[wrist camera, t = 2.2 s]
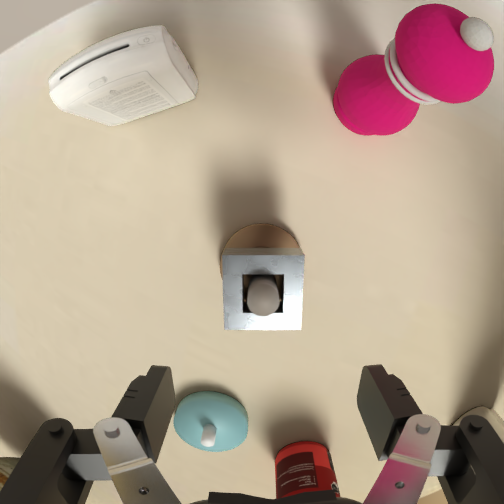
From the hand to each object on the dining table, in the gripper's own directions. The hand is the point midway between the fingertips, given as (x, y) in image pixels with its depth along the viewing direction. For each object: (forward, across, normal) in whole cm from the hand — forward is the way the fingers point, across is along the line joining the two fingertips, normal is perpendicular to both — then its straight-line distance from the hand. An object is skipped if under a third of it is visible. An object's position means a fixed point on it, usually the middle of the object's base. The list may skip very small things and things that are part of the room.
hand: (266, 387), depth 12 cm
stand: (+20, 0, 0) cm, 20 cm away
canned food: (+20, -6, +28) cm, 35 cm away
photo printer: (+20, +11, -17) cm, 28 cm away
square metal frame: (+14, 0, 0) cm, 14 cm away
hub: (+20, +6, +20) cm, 29 cm away
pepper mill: (+20, -10, -16) cm, 27 cm away
